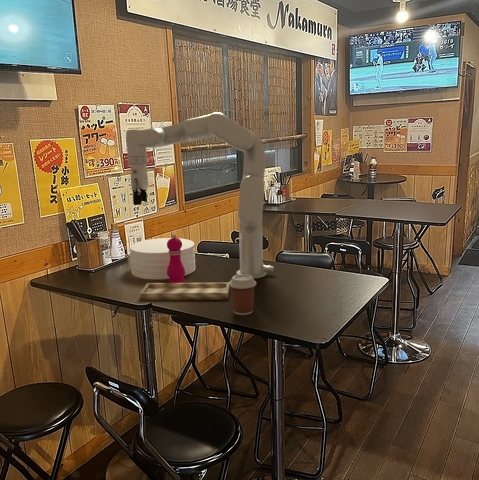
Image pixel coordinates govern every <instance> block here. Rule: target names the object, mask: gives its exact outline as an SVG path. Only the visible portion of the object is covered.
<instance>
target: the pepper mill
mask: <svg viewBox="0 0 479 480" xmlns="http://www.w3.org/2000/svg"><path fill="white" fill-rule="evenodd" d="M170 238H171V239H169V240H168V242H167V248H168V249H169V254H170V263H169V266H168V269H167V275H168V276H169V277H170V278H169V279H168V283H185V277H184V274H185V269H184V266H183V264H182V262H181V258H180V254H181V250H180V249H181V247H182V242H181V240H180V239H181V238H180V239H178V237H177V235H176V234H175V233H174V234H172V235H171V237H170Z"/></svg>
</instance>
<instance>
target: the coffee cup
mask: <svg viewBox="0 0 479 480" xmlns="http://www.w3.org/2000/svg"><path fill="white" fill-rule="evenodd" d="M229 286H230V291H231V299H232V308H233V313H234V314H235V315H238V316H248V315H251V314H252V313H253V311H254V296H255V295H254V294H255V287H256V286H257V281H256V280H255V279H253V277H252V276H251V275H246V274H240V275H237V274H235V275H233V276H232V277H231V279H230V281H229Z"/></svg>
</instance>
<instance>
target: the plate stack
mask: <svg viewBox="0 0 479 480" xmlns="http://www.w3.org/2000/svg"><path fill="white" fill-rule="evenodd" d="M171 238H172V237H161V238H159V237H158V238H150V239H146V240H145V239H144V240H140V241H137V242H134V243H132V244H131V245H130V246H129V251H130V252H129V257H130V268H131V270H130V271H131V273H130V274H131V275H133V276H134V277H136V278H139V279H144V280H169V278H170V277H169V276H168V275H167V269H168V266H169V263H170V254H169V249H168V248H167V242H168V240H169V239H171ZM177 238H178V237H177ZM178 239H180V240H181V242H182V247H181V249H180V250H181V254H180V258H181V262H182V264H183V266H184V269H185V274H184V276H188V275H189V274H192V273H193V272H195V270H196V259H195V258H196V255H195V253H196V252H195V251H196V250H195V242H194V241H193V240H190V239H187V238H178ZM184 276H183V277H184Z"/></svg>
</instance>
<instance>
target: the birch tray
mask: <svg viewBox="0 0 479 480" xmlns="http://www.w3.org/2000/svg"><path fill="white" fill-rule="evenodd" d="M229 282H230V281H229ZM229 282H184V283H169V282H147V283H146V284H145V285H144V287H143V288H142V289H141V290H140V292H139V294H138V295H139V300H140V301H165V300H166V301H169V300H170V301H175V300H178V301H179V300H180V301H183V300H185V301H186V300H188V301H189V300H190V299H193V300H192V301H194V299H195V300H198V301H199V300H200V301H201V300H228V299H229V294H230V291H231V287H230V286H229ZM190 301H191V300H190Z"/></svg>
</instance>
